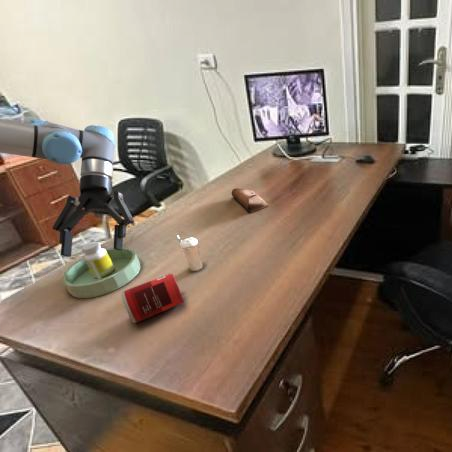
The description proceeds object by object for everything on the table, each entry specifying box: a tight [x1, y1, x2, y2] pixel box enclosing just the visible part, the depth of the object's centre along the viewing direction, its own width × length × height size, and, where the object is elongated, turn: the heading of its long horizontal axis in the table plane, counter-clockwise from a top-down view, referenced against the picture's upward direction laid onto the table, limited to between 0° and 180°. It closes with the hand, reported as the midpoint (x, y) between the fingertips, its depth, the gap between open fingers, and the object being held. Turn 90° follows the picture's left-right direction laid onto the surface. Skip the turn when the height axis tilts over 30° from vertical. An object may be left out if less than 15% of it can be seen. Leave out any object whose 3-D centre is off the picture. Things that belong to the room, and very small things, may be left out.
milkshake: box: [176, 235, 204, 272], centre depth 95 cm, size 4×5×10 cm
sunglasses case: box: [231, 188, 269, 213], centre depth 132 cm, size 18×7×7 cm
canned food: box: [121, 273, 185, 324], centre depth 81 cm, size 8×8×11 cm
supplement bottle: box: [81, 241, 116, 280], centre depth 94 cm, size 5×5×10 cm
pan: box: [61, 247, 141, 299], centre depth 96 cm, size 18×18×4 cm
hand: (92, 252), depth 92 cm, fingers open, 13 cm apart
